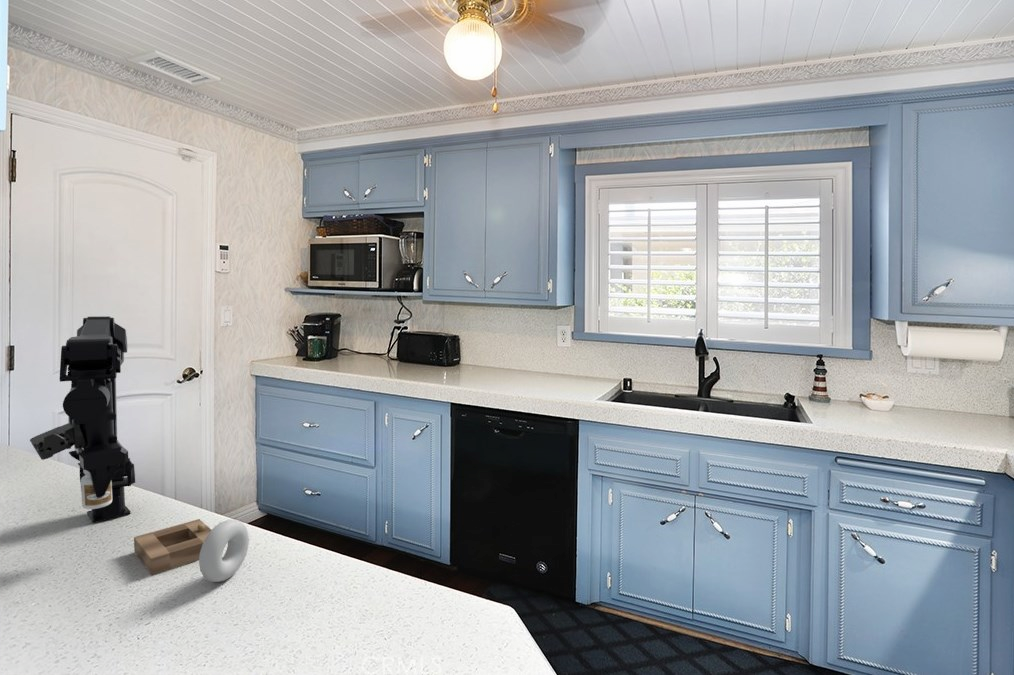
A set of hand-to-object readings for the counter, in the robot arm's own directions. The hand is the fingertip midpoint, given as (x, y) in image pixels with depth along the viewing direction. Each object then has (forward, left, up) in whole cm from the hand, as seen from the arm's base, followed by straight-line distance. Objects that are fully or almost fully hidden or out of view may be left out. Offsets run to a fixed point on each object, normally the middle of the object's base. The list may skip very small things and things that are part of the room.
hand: (97, 492), depth 97 cm
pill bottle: (0, 0, -2) cm, 3 cm away
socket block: (+9, +10, -12) cm, 18 cm away
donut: (+24, +13, -12) cm, 30 cm away
